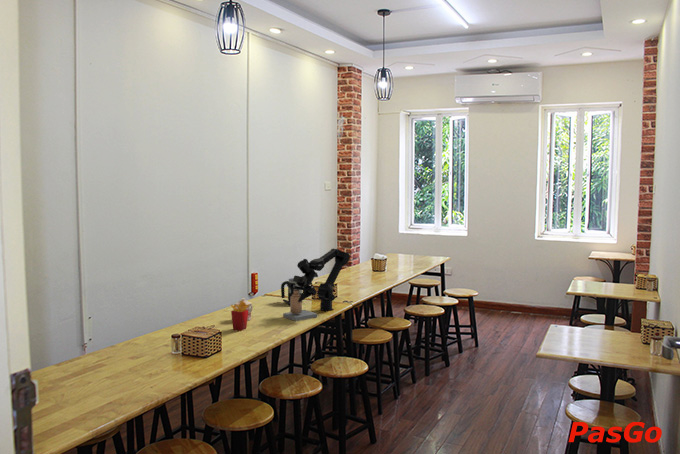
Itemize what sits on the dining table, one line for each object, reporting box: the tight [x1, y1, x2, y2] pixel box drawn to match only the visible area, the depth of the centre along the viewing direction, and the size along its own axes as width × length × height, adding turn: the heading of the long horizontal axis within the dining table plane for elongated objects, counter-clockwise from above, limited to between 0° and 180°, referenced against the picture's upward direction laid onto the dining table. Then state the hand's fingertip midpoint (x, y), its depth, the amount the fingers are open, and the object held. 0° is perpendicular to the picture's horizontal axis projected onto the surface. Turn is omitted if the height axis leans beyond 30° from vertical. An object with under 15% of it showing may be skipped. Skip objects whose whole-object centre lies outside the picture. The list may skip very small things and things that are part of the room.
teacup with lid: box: [235, 297, 253, 322], centre depth 303 cm, size 12×9×12 cm
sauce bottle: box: [289, 289, 303, 313], centre depth 307 cm, size 6×6×13 cm
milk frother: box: [280, 277, 303, 306], centre depth 344 cm, size 14×16×15 cm
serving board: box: [282, 309, 318, 322], centre depth 310 cm, size 15×12×2 cm
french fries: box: [230, 301, 250, 332], centre depth 282 cm, size 9×8×15 cm
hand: (294, 300), depth 306 cm, fingers closed on sauce bottle, 6 cm apart
